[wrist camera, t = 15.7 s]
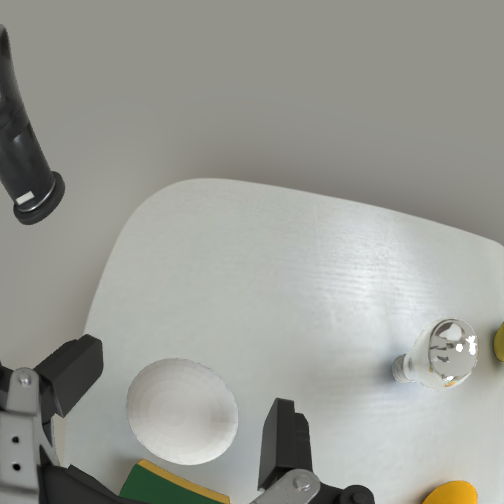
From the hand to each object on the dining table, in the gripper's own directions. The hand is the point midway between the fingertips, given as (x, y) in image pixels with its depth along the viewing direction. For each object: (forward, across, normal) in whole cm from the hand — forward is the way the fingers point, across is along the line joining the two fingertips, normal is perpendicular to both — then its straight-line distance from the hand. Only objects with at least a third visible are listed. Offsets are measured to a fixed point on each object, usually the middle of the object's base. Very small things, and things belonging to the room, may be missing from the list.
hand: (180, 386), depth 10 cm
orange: (+2, -32, +20) cm, 37 cm away
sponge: (+2, 0, +20) cm, 20 cm away
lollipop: (+10, 0, +12) cm, 15 cm away
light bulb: (+15, -21, +6) cm, 26 cm away
